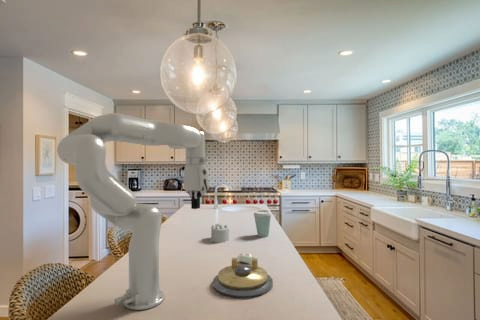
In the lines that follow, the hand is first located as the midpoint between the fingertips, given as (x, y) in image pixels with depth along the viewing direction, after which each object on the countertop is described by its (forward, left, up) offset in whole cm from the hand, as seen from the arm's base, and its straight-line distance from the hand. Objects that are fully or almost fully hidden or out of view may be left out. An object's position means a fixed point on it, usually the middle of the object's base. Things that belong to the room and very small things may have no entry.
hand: (195, 208), depth 115 cm
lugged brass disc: (+5, -19, -25) cm, 32 cm away
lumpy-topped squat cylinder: (+48, +28, -27) cm, 62 cm away
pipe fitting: (+25, -8, -28) cm, 38 cm away
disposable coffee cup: (+69, +12, -27) cm, 75 cm away
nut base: (+5, -19, -27) cm, 33 cm away
